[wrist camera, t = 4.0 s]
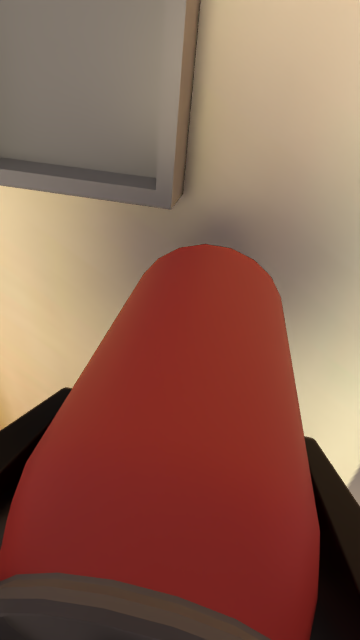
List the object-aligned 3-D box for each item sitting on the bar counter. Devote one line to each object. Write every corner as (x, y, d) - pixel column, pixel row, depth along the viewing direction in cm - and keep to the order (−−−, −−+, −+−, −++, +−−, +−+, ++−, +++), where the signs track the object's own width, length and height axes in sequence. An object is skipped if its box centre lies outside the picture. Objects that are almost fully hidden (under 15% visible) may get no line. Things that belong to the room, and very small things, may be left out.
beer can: (128, 339, 17) (-37, 659, 7) (154, 217, 13) (-111, 534, 4) (248, 377, 17) (248, 750, 7) (308, 267, 13) (476, 722, 4)
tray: (182, 193, 19) (170, 209, 16) (-5, 167, 20) (-48, 178, 17) (211, -126, 12) (201, -197, 10) (-69, -139, 13) (-155, -206, 11)
